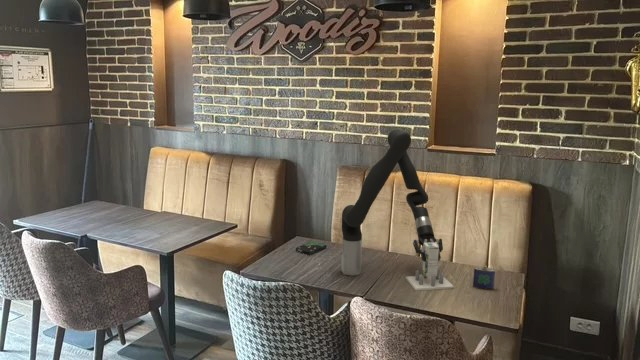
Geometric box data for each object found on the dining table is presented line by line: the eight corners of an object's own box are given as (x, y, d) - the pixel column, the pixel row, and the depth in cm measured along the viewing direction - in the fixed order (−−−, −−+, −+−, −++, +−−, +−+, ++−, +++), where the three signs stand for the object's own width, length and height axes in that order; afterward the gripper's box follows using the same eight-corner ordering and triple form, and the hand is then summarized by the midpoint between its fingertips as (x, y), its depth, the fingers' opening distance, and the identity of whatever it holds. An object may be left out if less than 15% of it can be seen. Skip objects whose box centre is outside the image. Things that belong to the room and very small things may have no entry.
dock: (415, 290, 235) (416, 279, 234) (405, 278, 249) (406, 267, 248) (453, 288, 238) (454, 277, 237) (441, 276, 251) (442, 265, 250)
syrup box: (421, 271, 245) (423, 242, 242) (434, 271, 246) (435, 242, 243) (425, 276, 240) (426, 246, 236) (437, 276, 240) (439, 246, 237)
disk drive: (310, 256, 278) (326, 249, 290) (310, 251, 278) (326, 244, 289) (295, 252, 284) (312, 245, 296) (295, 247, 284) (312, 240, 295)
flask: (493, 287, 239) (495, 265, 237) (494, 290, 236) (495, 268, 234) (472, 285, 242) (474, 263, 239) (472, 288, 239) (474, 265, 237)
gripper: (411, 224, 244) (419, 257, 235) (440, 223, 246) (449, 256, 237) (407, 232, 250) (414, 264, 241) (436, 231, 252) (444, 263, 243)
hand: (431, 260), depth 239 cm, fingers closed on syrup box, 6 cm apart
